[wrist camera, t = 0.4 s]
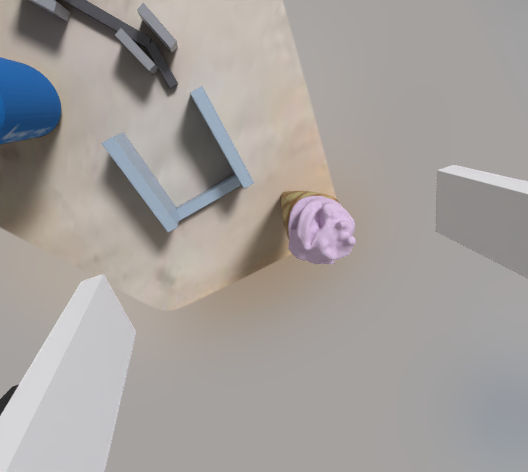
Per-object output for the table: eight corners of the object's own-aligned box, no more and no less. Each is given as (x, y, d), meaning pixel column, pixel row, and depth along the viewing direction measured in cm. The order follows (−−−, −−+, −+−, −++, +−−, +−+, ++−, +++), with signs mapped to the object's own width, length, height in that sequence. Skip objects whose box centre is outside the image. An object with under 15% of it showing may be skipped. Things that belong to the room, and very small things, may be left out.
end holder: (113, 138, 32) (101, 143, 27) (200, 89, 32) (202, 85, 27) (173, 220, 36) (171, 236, 32) (248, 177, 36) (256, 187, 32)
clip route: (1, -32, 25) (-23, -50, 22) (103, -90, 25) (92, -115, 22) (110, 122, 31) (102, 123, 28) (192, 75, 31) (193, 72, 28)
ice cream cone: (308, 220, 41) (368, 276, 27) (263, 227, 39) (301, 289, 26) (307, 170, 38) (373, 205, 24) (259, 176, 37) (300, 216, 23)
